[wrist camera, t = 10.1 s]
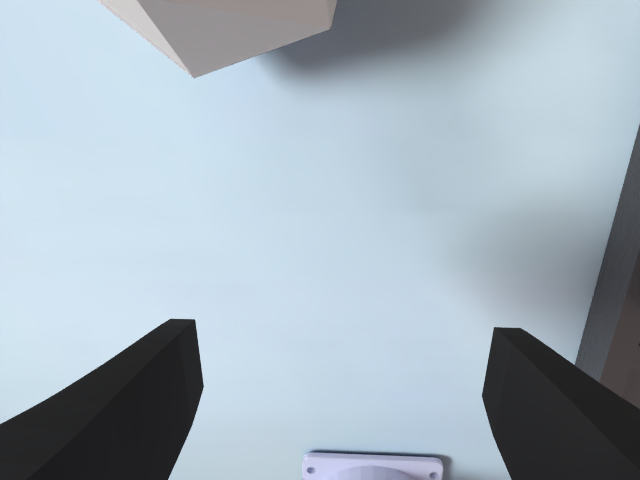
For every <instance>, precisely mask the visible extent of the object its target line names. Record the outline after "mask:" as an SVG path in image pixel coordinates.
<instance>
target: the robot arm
mask: <svg viewBox="0 0 640 480" xmlns="http://www.w3.org/2000/svg"><path fill="white" fill-rule="evenodd" d="M203 387H204V386H203V378H202V370H201V362H200V354H199V347H198V339H197V331H196V323H195V320H194V319H170V320H168V321H166V322H165V323H163V324H161V325H160V326H158V327H157V328H155V329H154V330H152V331H151V332H149V333H148V334H147V335H145V336H144V337H142V338H141V339H139V340H138V341H136V342H135V343H134V344H132V345H131V346H129V347H128V348H126V349H125V350H123V351H122V352H120V353H119V354H118V355H116V356H115V357H113V358H112V359H110V360H109V361H107V362H106V363H104V364H103V365H101V366H100V367H98V368H97V369H95V370H93V371H92V372H90V373H89V374H87V375H85V376H84V377H82V378H81V379H79V380H77V381H76V382H74V383H73V384H71V385H69V386H68V387H66V388H65V389H63V390H62V391H60V392H58V393H57V394H55V395H53V396H51V397H50V398H48V399H46V400H44V401H43V402H41V403H39V404H37V405H36V406H34V407H32V408H30V409H28V410H26V411H24V412H23V413H21V414H19V415H17V416H15V417H13V418H11V419H9V420H7V421H6V422H4V423H2V424H0V480H168V478H169V476H170V474H171V472H172V470H173V467H174V465H175V463H176V461H177V458H178V456H179V454H180V452H181V449H182V447H183V445H184V443H185V440H186V438H187V436H188V434H189V431H190V429H191V427H192V424H193V421H194V418H195V414H196V411H197V408H198V405H199V401H200V398H201V394H202V391H203ZM482 398H483V402H484V405H485V409H486V413H487V416H488V420H489V423H490V427H491V430H492V433H493V437H494V439H495V441H496V444H497V446H498V449H499V451H500V453H501V456H502V458H503V461H504V463H505V465H506V468H507V470H508V472H509V475H510V477H511V479H512V480H640V409H639V408H637V407H636V406H634V405H633V404H631V403H630V402H628V401H626V400H625V399H623V398H622V397H620V396H619V395H617V394H616V393H614V392H613V391H611V390H610V389H608V388H607V387H605V386H604V385H602V384H601V383H599V382H598V381H596V380H595V379H593V378H592V377H590V376H589V375H588V374H586V373H585V372H583V371H582V370H580V369H579V368H578V367H576V366H575V365H573V364H572V363H571V362H569V361H568V360H566V359H565V358H564V357H562V356H561V355H559V354H558V353H557V352H555V351H554V350H552V349H551V348H550V347H548V346H547V345H545V344H544V343H542V342H541V341H540V340H538V339H537V338H535V337H534V336H532V335H531V334H529V333H528V332H526V331H524V330H523V329H521V328H499V327H494V331H493V337H492V342H491V348H490V353H489V359H488V365H487V370H486V376H485V382H484V387H483V393H482ZM310 467H313V468H310ZM443 470H444V468H443V463H442V461H441V460H440V459H438V458H435V457H411V456H387V455H362V454H337V453H312V452H311V453H307V454H305V455H304V457H303V480H442V476H443ZM433 472H435V473H433Z"/></svg>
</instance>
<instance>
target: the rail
mask: <svg viewBox="0 0 640 480" xmlns="http://www.w3.org/2000/svg"><path fill="white" fill-rule="evenodd" d="M575 366H576V367H578V368H579V369H580V370H582V371H583V372H585V373H586V374H588V375H589V376H590V377H592V378H593V379H595V380H596V381H598V382H599V383H601V384H602V385H604V386H605V387H607V388H608V389H610V390H611V391H613V392H614V393H616V394H617V395H619V396H620V397H622V398H623V399H625V400H626V401H628V402H630V403H631V404H633V405H634V406H636V407H637V408H639V409H640V125H639V129H638V133H637V136H636V140H635V144H634V148H633V151H632V155H631V159H630V162H629V166H628V170H627V174H626V177H625V181H624V185H623V188H622V192H621V196H620V199H619V203H618V207H617V211H616V214H615V218H614V222H613V225H612V229H611V233H610V237H609V240H608V244H607V248H606V251H605V255H604V259H603V262H602V266H601V270H600V274H599V277H598V281H597V285H596V288H595V292H594V296H593V300H592V303H591V307H590V311H589V314H588V318H587V322H586V326H585V329H584V333H583V337H582V340H581V344H580V348H579V351H578V355H577V359H576V363H575Z"/></svg>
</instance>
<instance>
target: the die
mask: <svg viewBox="0 0 640 480" xmlns="http://www.w3.org/2000/svg"><path fill="white" fill-rule="evenodd" d="M97 1H99V2H100V3H101V4H102V5H104V6H105V7H106V8H107V9H109V10H110V11H111V12H112V13H114V14H115V15H116V16H117V17H119V18H120V19H121V20H122V21H124V22H125V23H126V24H127V25H129V26H130V27H131V28H132V29H133V30H135V31H136V32H137V33H138V34H140V35H141V36H142V37H143V38H145V39H146V40H147V41H148V42H150V43H151V44H152V45H153V46H155V47H156V48H157V49H158V50H160V51H161V52H162V53H163V54H165V55H166V56H167V57H168V58H170V59H171V60H172V61H173V62H175V63H176V64H177V65H178V66H179V67H181V68H182V69H183V70H184V71H186V72H187V73H188V74H189V75H191V76H192V77H193V78H196V77H199V76H202V75H205V74H207V73H210V72H213V71H216V70H218V69H221V68H224V67H227V66H229V65H232V64H235V63H238V62H241V61H243V60H246V59H249V58H252V57H254V56H257V55H260V54H263V53H265V52H268V51H271V50H274V49H277V48H279V47H282V46H285V45H288V44H290V43H293V42H296V41H299V40H302V39H304V38H307V37H310V36H313V35H315V34H318V33H321V32H324V31H326V30H329V29H331V25H332V21H333V17H334V13H335V8H336V4H337V0H97Z"/></svg>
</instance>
